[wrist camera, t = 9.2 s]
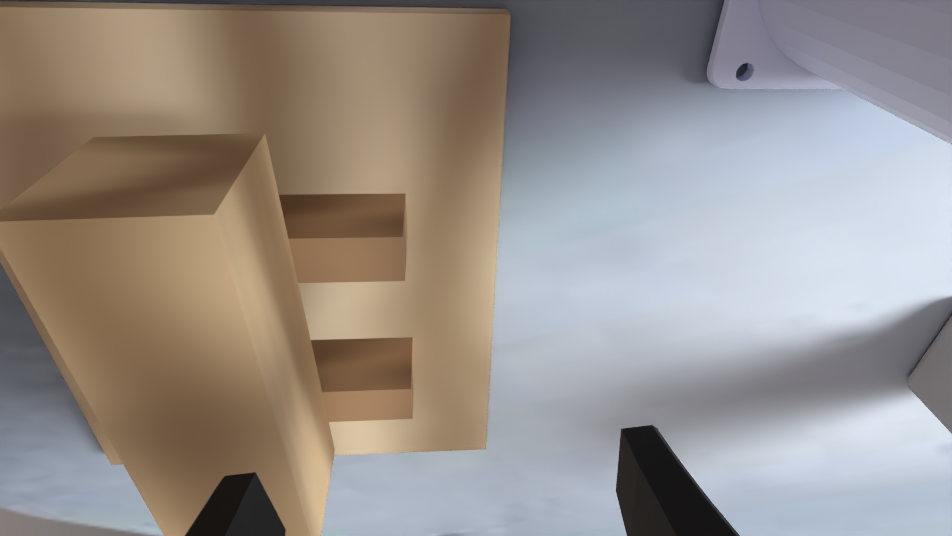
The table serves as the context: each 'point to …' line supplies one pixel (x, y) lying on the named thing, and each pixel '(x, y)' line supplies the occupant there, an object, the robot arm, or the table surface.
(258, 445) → the oak beam
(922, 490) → the table surface
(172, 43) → the rail stand
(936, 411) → the vintage mobile phone
